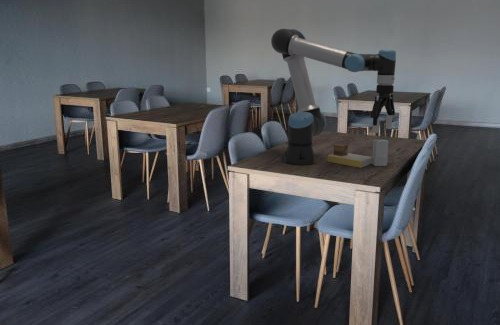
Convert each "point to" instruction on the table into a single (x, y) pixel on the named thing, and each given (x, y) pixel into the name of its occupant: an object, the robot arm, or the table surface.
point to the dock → (351, 160)
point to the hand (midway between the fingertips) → (381, 130)
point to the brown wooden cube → (340, 149)
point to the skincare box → (380, 152)
